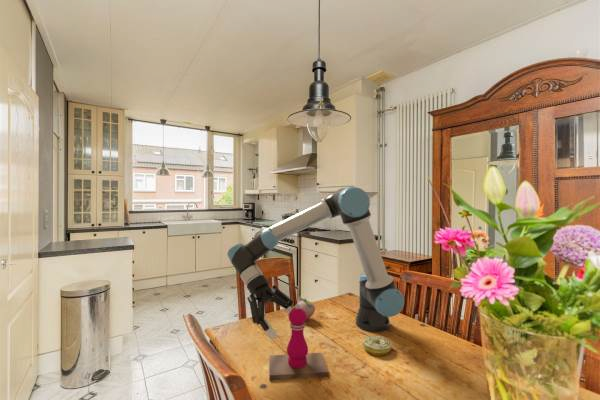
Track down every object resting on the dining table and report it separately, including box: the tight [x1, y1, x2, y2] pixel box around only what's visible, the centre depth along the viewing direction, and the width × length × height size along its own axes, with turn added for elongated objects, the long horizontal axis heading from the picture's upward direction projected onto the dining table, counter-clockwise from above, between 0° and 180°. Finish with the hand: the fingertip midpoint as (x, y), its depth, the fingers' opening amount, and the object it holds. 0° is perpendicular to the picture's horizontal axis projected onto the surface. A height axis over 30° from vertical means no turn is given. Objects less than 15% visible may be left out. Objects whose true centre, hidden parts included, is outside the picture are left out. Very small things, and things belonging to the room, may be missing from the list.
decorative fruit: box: [297, 297, 316, 320], centre depth 140 cm, size 9×8×10 cm
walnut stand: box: [268, 352, 330, 381], centre depth 99 cm, size 19×12×2 cm, turn 96°
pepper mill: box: [286, 303, 309, 368], centre depth 99 cm, size 7×7×20 cm
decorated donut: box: [362, 335, 393, 357], centre depth 112 cm, size 10×11×4 cm
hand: (286, 330), depth 101 cm, fingers open, 13 cm apart
